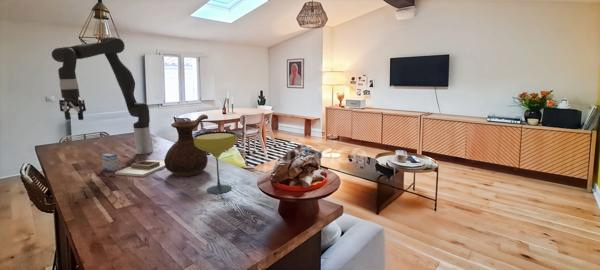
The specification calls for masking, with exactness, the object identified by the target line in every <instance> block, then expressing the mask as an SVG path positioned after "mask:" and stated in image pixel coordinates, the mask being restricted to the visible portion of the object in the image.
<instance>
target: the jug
mask: <svg viewBox="0 0 600 270" xmlns="http://www.w3.org/2000/svg"><path fill="white" fill-rule="evenodd" d="M208 119H209V116H208V115H207V114H201V115H199V116H198V117H197V118H196V119H195V120H194V121H192V120H191V121H190V120H183V121H182V120H181V121H175V122H173V123H170V125H171V127H172V128H173V129H176V130H177V134H178V137H177V141H175V143H173V144H172V145H171V146H170V147H169V149H168V151H167V152H166V153H165V157H164V159H163V161H164V163H165V168H166V170H167V171H168V172H170V173H172V174H173V175H174V176H177V177H180V178H181V177H190V176H191V177H192V176H196V175H198V174H200V172H202V171H204V170H205V169H206V167H207V166H208V159H209V158H208V155H207V152H206V151H203V150H200V149H199V148H197V147H196V146H195V145H194V136H193V131H194V129H196V127H198V126H199V125H200V123H201V122H202V121H204V120H208Z"/></svg>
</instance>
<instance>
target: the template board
mask: <svg viewBox="0 0 600 270" xmlns="http://www.w3.org/2000/svg"><path fill="white" fill-rule="evenodd" d="M164 168H166V167H165V163H164V160H154V159H147V160H140V161H139V160H138V161H137V162H134V163H131V164H130V166H128V167H124V168H122V169H119V170H116V171H114V173H115V175H120V176H128V177H129V176H132V177H146V176H148V175H150V174H152V173H156V172H158V171H160V170H162V169H164Z"/></svg>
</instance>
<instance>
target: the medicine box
mask: <svg viewBox="0 0 600 270" xmlns="http://www.w3.org/2000/svg"><path fill="white" fill-rule="evenodd" d="M100 157H101V160H102V161H101V162H102V163H101V164H102V169H103V171H107V172H117V171H119V170H120V165H119V157H118V154H116V153H115V154H114V153H104V154H101V155H100Z"/></svg>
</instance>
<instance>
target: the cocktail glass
mask: <svg viewBox="0 0 600 270" xmlns="http://www.w3.org/2000/svg"><path fill="white" fill-rule="evenodd" d="M193 138H194V145H195V146H196V147H197V148H199V149H200V150H203V151H206V153H208V154H211V155H212V157H214V158H215V160H216V162H215V163H216V171H217V172H216V173H217V174H216V175H217V183H216V185H212V186H210V187H208V188H207V189H206V192H207V193H208V194H210V195H211V194H212V195H220V194H225V193H229V192H230V191H231V190H232V186H231V185H229V184H228V185H227V184H221V181H220V172H219V159H218V158H220V157H221V155H222V154H223V153H224V152H225V151H227V150H229V149H231V148H232V147H233V146H235V144H236V143H237V138H238V137H237V133H235V132H233V131H225V130H224V131H223V130H222V131H220V130H219V131H207V132H201V133H198V134H195V135H194V136H193Z"/></svg>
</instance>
